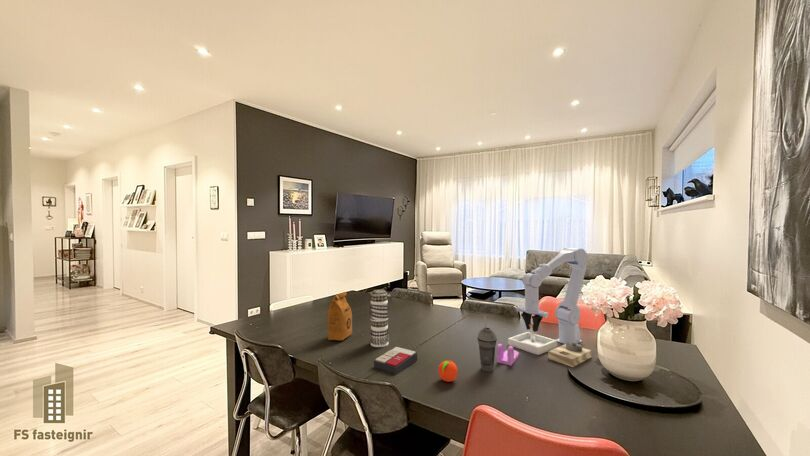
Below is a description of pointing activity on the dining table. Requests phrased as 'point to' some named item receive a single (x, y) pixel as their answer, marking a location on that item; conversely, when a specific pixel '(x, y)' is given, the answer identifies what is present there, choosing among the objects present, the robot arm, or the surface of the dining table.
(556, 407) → the dining table surface
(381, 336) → the grey striped cylinder
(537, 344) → the tray
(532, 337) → the pin
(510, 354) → the bracket
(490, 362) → the beverage cup
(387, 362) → the flat product box
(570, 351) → the block
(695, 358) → the dining table surface
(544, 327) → the dining table surface
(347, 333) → the coffee package
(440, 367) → the clementine
